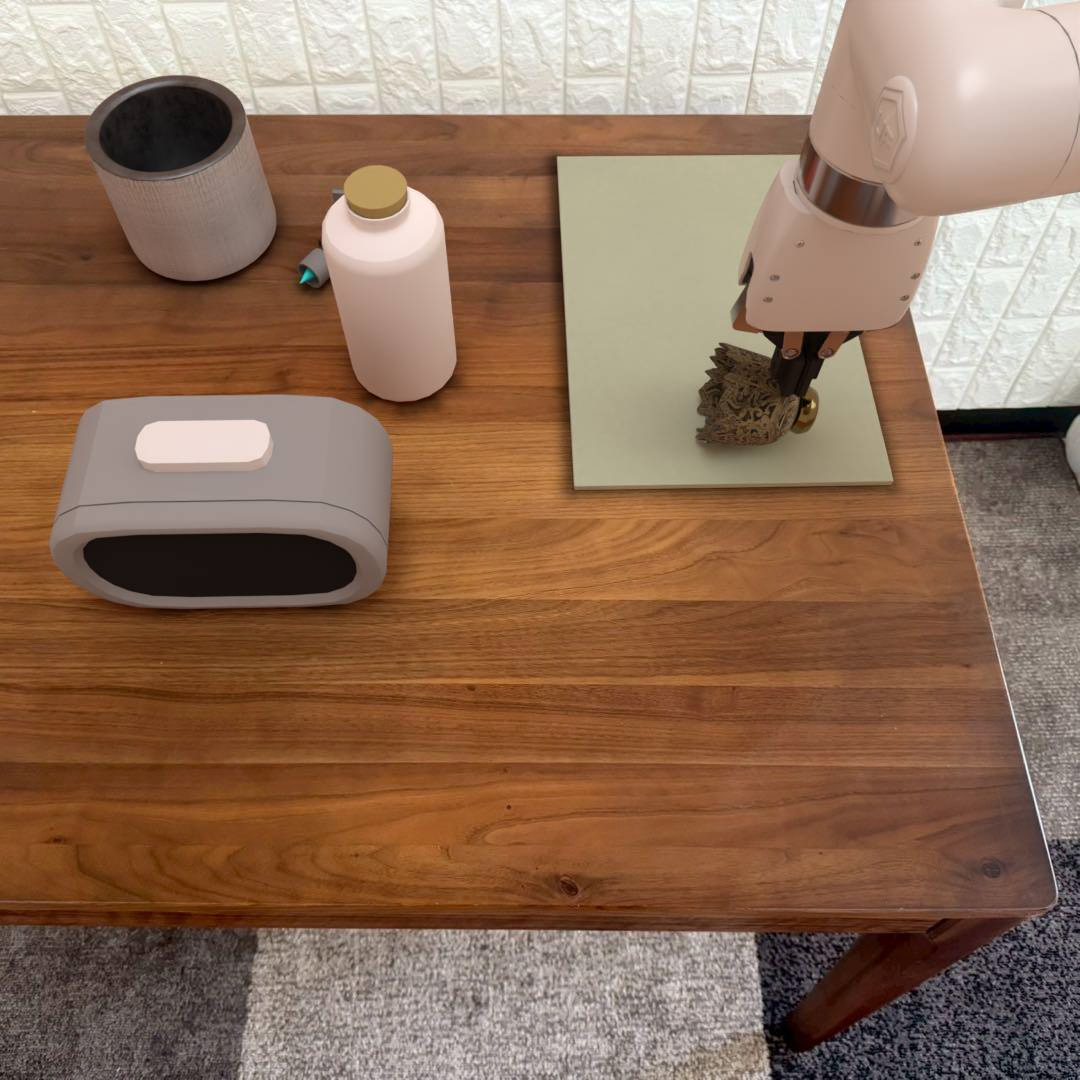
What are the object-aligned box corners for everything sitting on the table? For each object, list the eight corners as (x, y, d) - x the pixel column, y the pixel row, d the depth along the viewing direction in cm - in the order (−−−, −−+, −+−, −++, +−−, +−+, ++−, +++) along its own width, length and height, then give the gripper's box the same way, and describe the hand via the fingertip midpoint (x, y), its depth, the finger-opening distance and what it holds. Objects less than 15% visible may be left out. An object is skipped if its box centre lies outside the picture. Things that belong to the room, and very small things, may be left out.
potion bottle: (431, 421, 75) (405, 248, 59) (335, 388, 76) (286, 211, 60) (474, 344, 78) (461, 162, 63) (382, 315, 80) (347, 129, 64)
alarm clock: (98, 618, 66) (6, 520, 54) (123, 500, 71) (43, 387, 59) (397, 612, 67) (369, 515, 55) (403, 496, 71) (379, 383, 60)
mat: (891, 485, 72) (894, 481, 72) (573, 490, 72) (574, 486, 71) (812, 159, 90) (814, 154, 89) (556, 161, 89) (556, 156, 89)
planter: (112, 218, 85) (58, 107, 75) (243, 166, 88) (207, 54, 78) (167, 309, 80) (117, 203, 70) (303, 250, 83) (274, 141, 73)
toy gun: (287, 286, 81) (274, 242, 77) (374, 203, 86) (366, 158, 82) (378, 335, 79) (370, 293, 75) (462, 246, 84) (459, 202, 79)
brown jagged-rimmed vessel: (794, 394, 76) (697, 376, 76) (833, 342, 70) (727, 321, 69) (792, 477, 73) (691, 459, 73) (833, 431, 67) (721, 410, 66)
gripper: (989, 118, 54) (883, 339, 70) (724, 120, 53) (678, 341, 69) (1026, 213, 50) (905, 422, 66) (741, 216, 50) (689, 426, 66)
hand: (789, 380), depth 68 cm, fingers closed
